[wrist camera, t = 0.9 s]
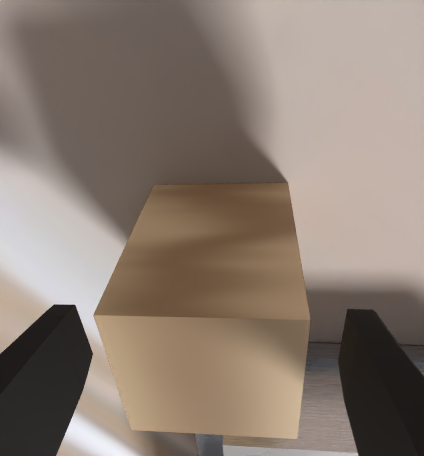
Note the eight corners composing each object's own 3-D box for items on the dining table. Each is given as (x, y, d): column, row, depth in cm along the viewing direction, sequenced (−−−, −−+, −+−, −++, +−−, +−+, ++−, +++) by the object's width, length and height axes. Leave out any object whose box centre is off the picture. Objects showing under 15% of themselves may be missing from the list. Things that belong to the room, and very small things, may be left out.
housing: (287, 181, 13) (310, 319, 8) (282, 284, 15) (296, 438, 10) (153, 184, 13) (93, 314, 8) (170, 283, 16) (131, 430, 11)
